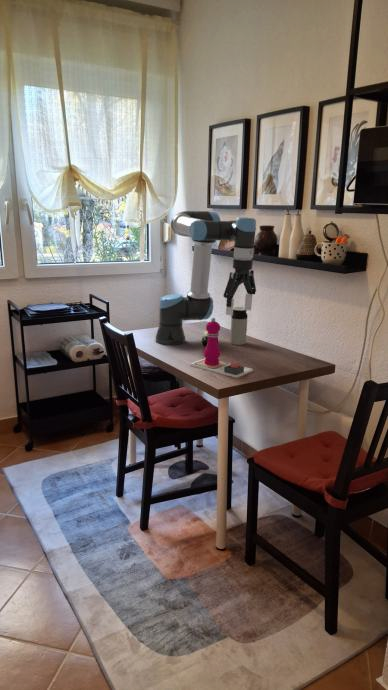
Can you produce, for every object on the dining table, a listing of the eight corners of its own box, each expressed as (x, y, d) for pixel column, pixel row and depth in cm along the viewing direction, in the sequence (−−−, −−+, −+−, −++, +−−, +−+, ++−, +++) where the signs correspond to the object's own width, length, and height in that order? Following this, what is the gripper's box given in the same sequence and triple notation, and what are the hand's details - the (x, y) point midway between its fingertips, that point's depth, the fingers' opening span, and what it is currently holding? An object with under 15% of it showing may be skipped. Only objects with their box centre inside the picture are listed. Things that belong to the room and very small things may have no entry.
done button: (233, 366, 209) (233, 361, 208) (240, 368, 207) (240, 363, 206) (228, 368, 206) (228, 363, 205) (235, 370, 204) (235, 365, 203)
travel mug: (228, 344, 253) (229, 308, 248) (232, 340, 260) (234, 306, 256) (243, 346, 250) (245, 310, 246) (247, 342, 258) (249, 307, 253)
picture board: (206, 359, 226) (207, 352, 225) (252, 371, 212) (253, 363, 211) (190, 365, 217) (190, 358, 216) (236, 378, 202) (237, 370, 202)
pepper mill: (218, 366, 213) (220, 320, 208) (202, 365, 214) (203, 319, 209) (221, 361, 220) (222, 316, 215) (204, 360, 221) (206, 315, 216)
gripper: (233, 262, 183) (229, 319, 189) (267, 257, 202) (262, 309, 209) (216, 259, 188) (212, 315, 194) (251, 255, 207) (247, 306, 213)
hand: (238, 312), depth 201 cm, fingers open, 13 cm apart
